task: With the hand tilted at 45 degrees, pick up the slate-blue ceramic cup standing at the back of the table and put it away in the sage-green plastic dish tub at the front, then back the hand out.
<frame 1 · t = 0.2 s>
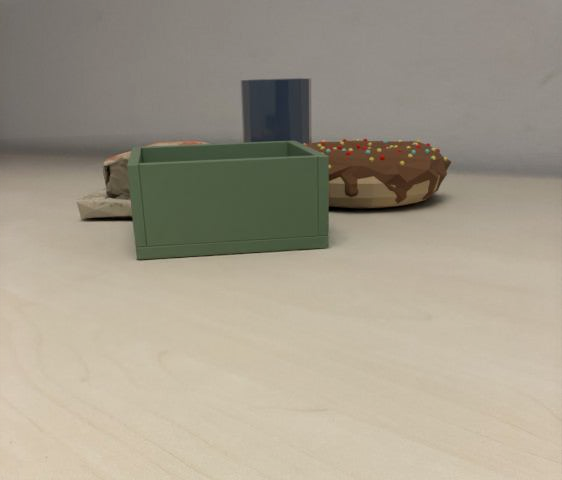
tub: (226, 235, 50), on the table
donut: (368, 202, 62), on the table
cup: (278, 181, 75), on the table
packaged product: (165, 204, 64), on the table
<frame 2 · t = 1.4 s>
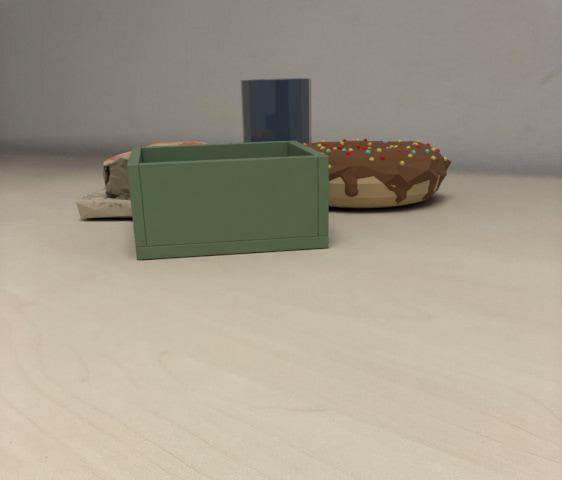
nothing on the table moved.
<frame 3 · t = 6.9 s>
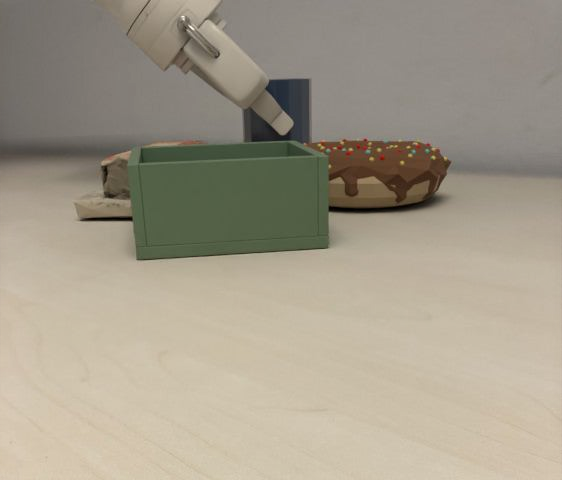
hand: (283, 127, 73), 5 cm above the table, tool tilted 45°, fingers closed on cup, 7 cm apart
cup: (278, 181, 75), on the table, touching gripper
everything else where it was.
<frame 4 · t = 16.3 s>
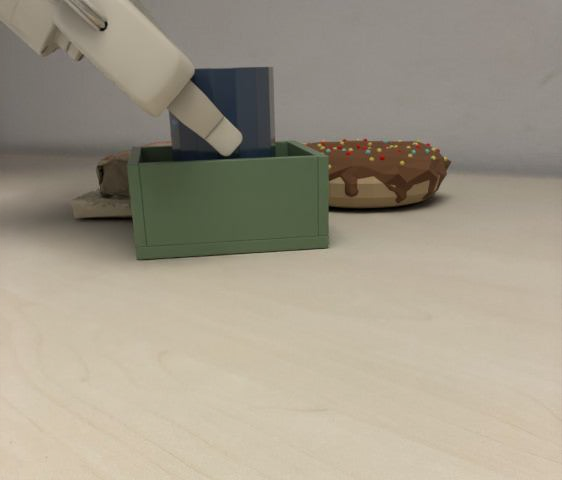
hand: (231, 141, 48), 6 cm above the table, tool tilted 45°, fingers closed on cup, 7 cm apart
cup: (227, 221, 50), point 1 cm above the table, touching gripper
everything else where it was.
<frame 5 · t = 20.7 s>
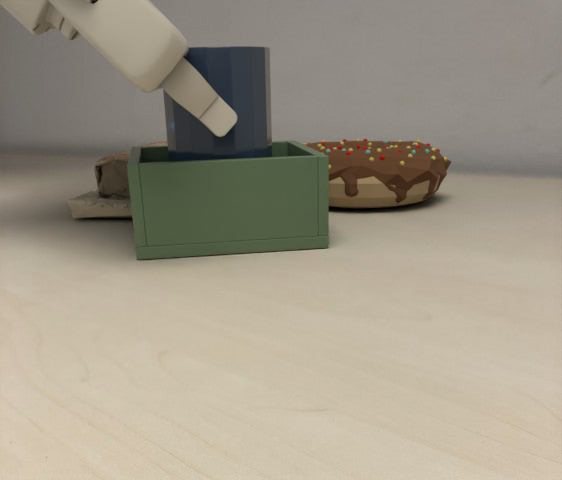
hand: (227, 123, 47), 8 cm above the table, tool tilted 45°, fingers closed on cup, 7 cm apart
cup: (222, 205, 49), point 2 cm above the table, touching gripper
everything else where it was.
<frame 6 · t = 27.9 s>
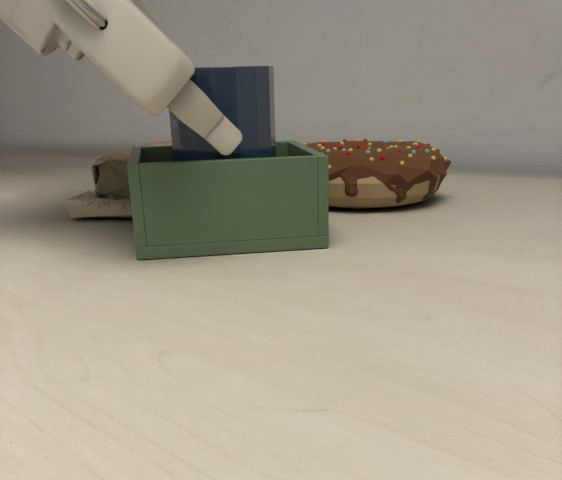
hand: (231, 141, 48), 6 cm above the table, tool tilted 45°, fingers closed on cup, 7 cm apart
cup: (227, 220, 50), point 1 cm above the table, touching gripper
everything else where it was.
when the fingers open (9 cm above the table, at t = 34.7 s): cup drops 2 cm, resting on tub.
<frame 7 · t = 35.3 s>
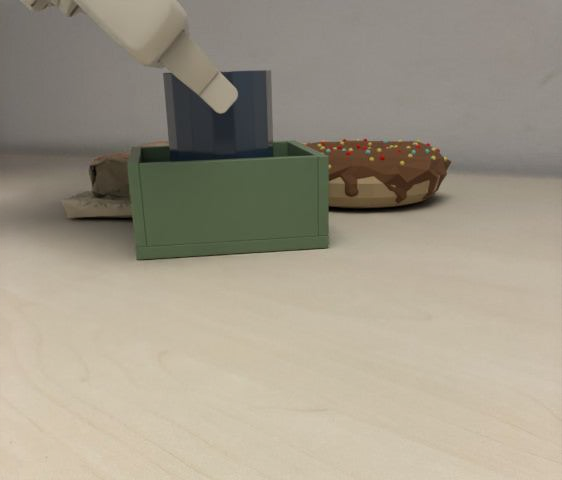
hand: (227, 102, 47), 9 cm above the table, tool tilted 45°, fingers open, 8 cm apart
cup: (225, 224, 50), point 1 cm above the table, touching tub
everything else where it was.
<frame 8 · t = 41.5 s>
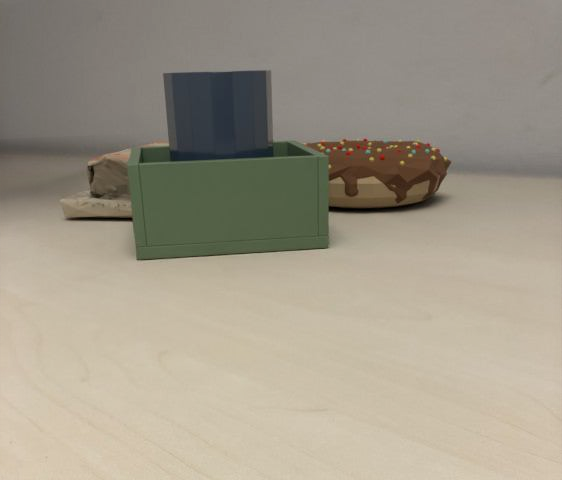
nothing on the table moved.
at the end: cup inside the target area in the tub (0.0 cm from its centre), point 0.8 cm above the tub's base; the gripper is holding nothing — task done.
